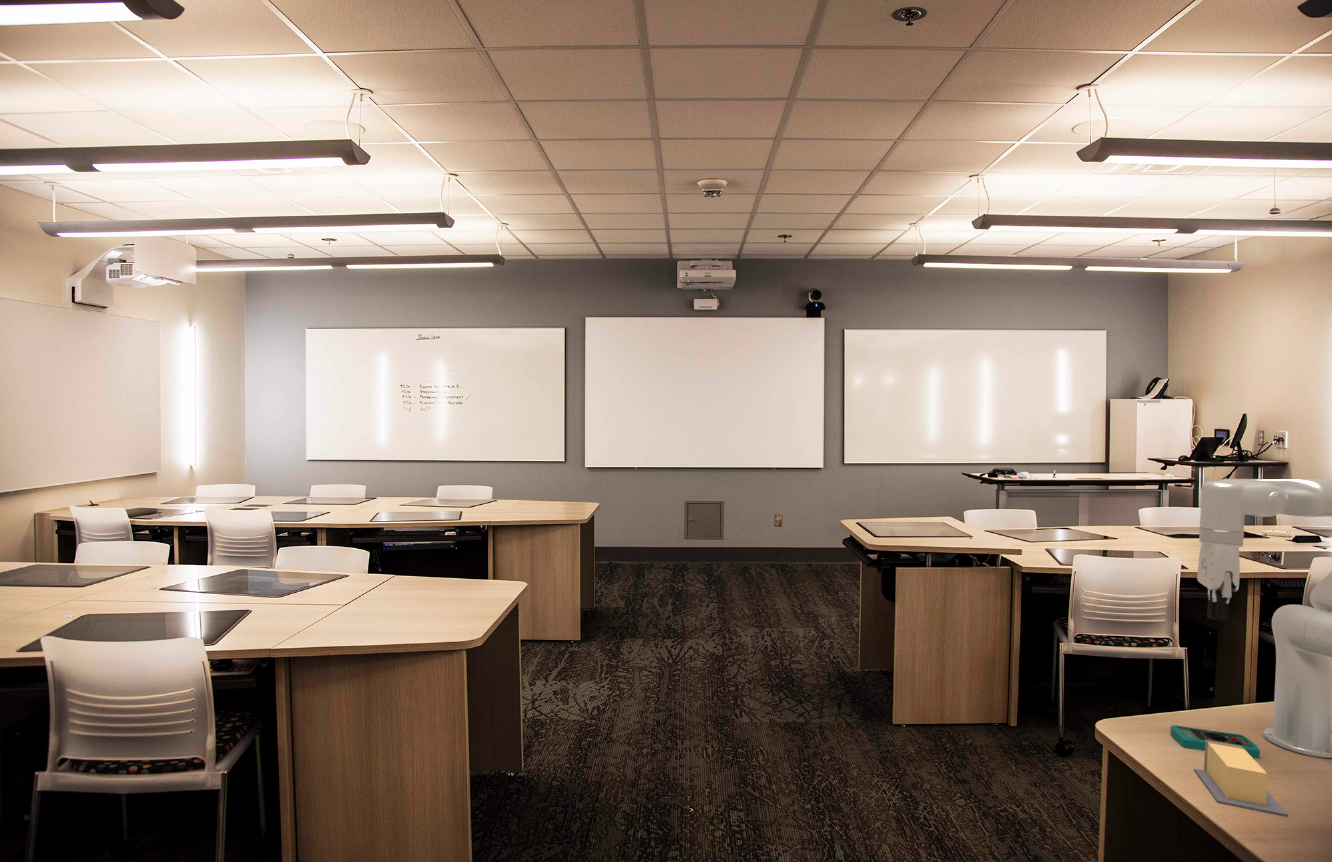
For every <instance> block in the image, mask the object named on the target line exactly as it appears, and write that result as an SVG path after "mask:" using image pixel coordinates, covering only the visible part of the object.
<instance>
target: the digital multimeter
mask: <svg viewBox="0 0 1332 862" xmlns="http://www.w3.org/2000/svg"><path fill="white" fill-rule="evenodd" d="M1170 735H1171V736H1172V738H1173V739H1174V740H1175V741H1176V742H1177V743H1178V744H1179V745H1181V747H1183V748H1185V749H1189V750H1191V749H1192V750H1200V751H1205V740H1210V741H1215V742H1221V743H1227V744H1233V745H1239V746H1242V747H1243V748H1244V749H1245V750H1246V751H1247V752H1248V754H1249V755H1250V756H1251V757H1252V758H1253V759H1260V756H1261V751H1260V750H1261V749H1259V747H1258V745H1256V744H1255V742H1253V741H1252V740H1251V739H1249V738H1248V737H1246V736H1245V735H1243V734H1239V733H1232V732H1225V731H1217V730H1209V729H1203V728H1195V727H1188V726H1183V725H1175V724H1174V725H1171V726H1170Z"/></svg>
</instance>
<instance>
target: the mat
mask: <svg viewBox="0 0 1332 862" xmlns="http://www.w3.org/2000/svg"><path fill="white" fill-rule="evenodd" d="M1193 772H1195V773H1196V775H1197V776H1198V777H1199V779H1200V780H1201V782H1202V783H1203V784H1204V786H1205V787H1206V789H1207V790H1208V791H1209V793H1210V794H1211V796H1212V797H1213V798H1214V800H1215V801H1216V802H1217V803H1218V804H1222V805H1223V804H1224V805H1227V806H1228V805H1229V806H1233V807H1237V808H1238V807H1239V808H1243V809H1247V810H1253V811H1258V812H1264V813H1267V814H1272V815H1279V816H1282V817H1287V818H1288V817H1289V814H1288V813H1287V811H1286V810H1285V809H1284V808H1283V807H1282V806H1281V805H1280V804H1279V802H1277V800H1276V799H1275V798H1274V797H1273V796H1272V795H1271V793H1270V792H1269V791H1268V790H1267V794H1266V805H1262V804H1257V803H1252V802H1247V801H1242V800H1237V799H1232V798H1227V797H1226V796H1225V795H1224V794H1223V792H1222V791H1221V790H1220V788H1219V787H1218V786H1217V784H1216V783H1215V782H1214V780H1213V779H1212V778H1211V777H1210V775H1209V774H1208V773H1207V771H1206V770H1205V769H1204V770H1203V769H1200V768H1199V769H1198V768H1194V769H1193Z"/></svg>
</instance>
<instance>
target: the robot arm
mask: <svg viewBox="0 0 1332 862" xmlns="http://www.w3.org/2000/svg"><path fill="white" fill-rule="evenodd" d="M1200 495H1201V496H1200V497H1201V498H1200V518H1199V538H1198V539H1199V540H1198V541H1199V542H1200V543H1201V545H1200V549H1199V555H1198V556H1199V557H1198V566H1197V574H1196V580H1197V581H1198V583H1200V584H1201V585H1203V586H1204V587H1206V589H1207V599H1208V600H1207V618H1208V619H1210V620H1212V621H1219V622H1228V620H1229V603H1230V599H1231V598H1232V597H1233V596H1232V595H1233V594H1232V593H1235V592H1237V591H1239V587H1240V575H1241V574H1240V568H1241V567H1240V548H1242V547H1244V536H1245V532H1244V531H1245V516H1246V515H1248V516H1254V517H1255V516H1256V517H1263V518H1266V517H1267V518H1269V517H1270V518H1271V517H1274V516H1278V515H1286V516H1292V517H1293V516H1295V517H1307V518H1308V517H1309V518H1314V517H1316V518H1317V517H1318V518H1319V517H1320V518H1321V517H1323V518H1324V517H1326V518H1327V517H1332V478H1331V479H1329V478H1328V479H1325V478H1323V479H1322V478H1321V479H1320V478H1319V479H1315V478H1309V479H1308V478H1307V479H1306V478H1302V479H1301V478H1282V479H1281V478H1280V479H1261V478H1260V479H1259V478H1223V479H1219V480H1217V481H1215V480H1214V481H1206V482H1204V483H1202V486H1201V490H1200ZM1309 602H1310V604H1311V605H1312V607H1311V606H1308V605H1302V604H1286V605H1282V606H1280V607H1279V608H1277V609H1276V610H1275V611H1274V612H1273V616H1272V618H1271V629H1272V634H1273V639H1274V643H1275V680H1274V681H1275V682H1274V698H1273V699H1274V701H1273V703H1274V705H1273V726H1272V727H1266V728H1265V729H1264V730H1263V736H1264V737H1265V738H1266V740H1267V741H1269V742H1271V743H1272V744H1274V745H1277V746H1279V747H1281V748H1283V749H1285V750H1289V751H1291V752H1295V753H1298V754H1302V755H1306V756H1309V757H1317V758H1325V759H1327V758H1328V759H1329V758H1331V759H1332V664H1331V662H1330V660H1329V658H1332V570H1331V571H1330V572H1329V573H1328V574H1327V575H1326V576H1324V578H1323V579H1322V580H1320V581H1319V583H1317V584H1316V586H1315V587H1314V588H1313V589H1312V590H1311V592H1310V593H1309Z"/></svg>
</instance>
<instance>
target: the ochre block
mask: <svg viewBox="0 0 1332 862" xmlns="http://www.w3.org/2000/svg"><path fill="white" fill-rule="evenodd" d="M1203 764H1204V765H1203V768H1204V770H1205V771H1207V773H1208V774H1209V775H1210V777H1211V778H1212V779H1213V780H1214V782H1215V783H1216V784H1217V786H1218V787H1219V788H1220V790H1221V791H1222V792H1223V794H1224V795H1225V796H1226V797H1227V798H1232V799H1237V800H1242V801H1247V802H1252V803H1257V804H1262V805H1266V794H1267V791H1268V772H1266V770H1264V768H1263V767H1262V766H1261V765H1260V764H1259V763H1258V762H1257V761H1256V759H1255V758H1252V757H1251V756H1250V755H1249V754H1248V752H1247V751H1246V750H1245V749H1244V748H1243V747H1242V746H1239V745H1233V744H1227V743H1221V742H1215V741H1210V740H1205V750H1204V763H1203Z"/></svg>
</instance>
